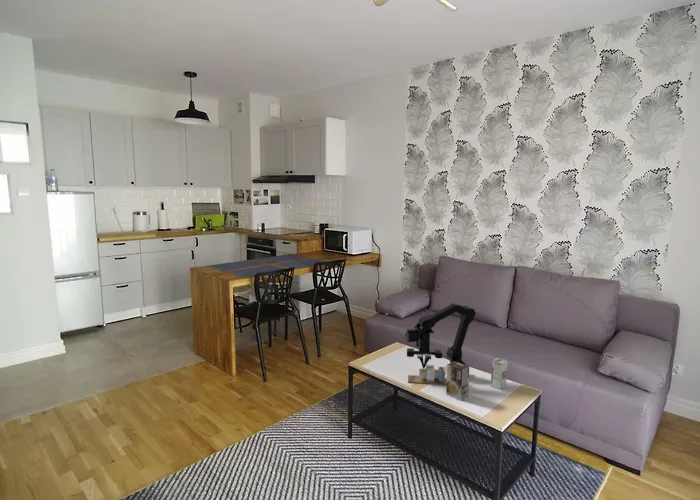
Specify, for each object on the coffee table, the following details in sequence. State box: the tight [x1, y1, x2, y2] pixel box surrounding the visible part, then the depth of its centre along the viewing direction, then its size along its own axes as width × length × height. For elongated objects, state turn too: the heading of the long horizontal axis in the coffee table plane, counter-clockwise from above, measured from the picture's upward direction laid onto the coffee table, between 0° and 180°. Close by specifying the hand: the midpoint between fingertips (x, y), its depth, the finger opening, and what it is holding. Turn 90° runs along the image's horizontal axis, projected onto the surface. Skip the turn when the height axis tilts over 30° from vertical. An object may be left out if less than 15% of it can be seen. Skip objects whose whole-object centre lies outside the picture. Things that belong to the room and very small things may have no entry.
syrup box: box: [490, 357, 509, 390], centre depth 219 cm, size 6×6×14 cm
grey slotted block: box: [425, 364, 435, 382], centre depth 225 cm, size 4×7×7 cm, turn 174°
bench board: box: [407, 374, 447, 386], centre depth 226 cm, size 20×8×1 cm, turn 84°
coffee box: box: [445, 361, 470, 401], centre depth 209 cm, size 9×6×16 cm
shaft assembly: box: [418, 366, 446, 383], centre depth 225 cm, size 13×5×6 cm, turn 84°
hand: (423, 368), depth 228 cm, fingers closed
